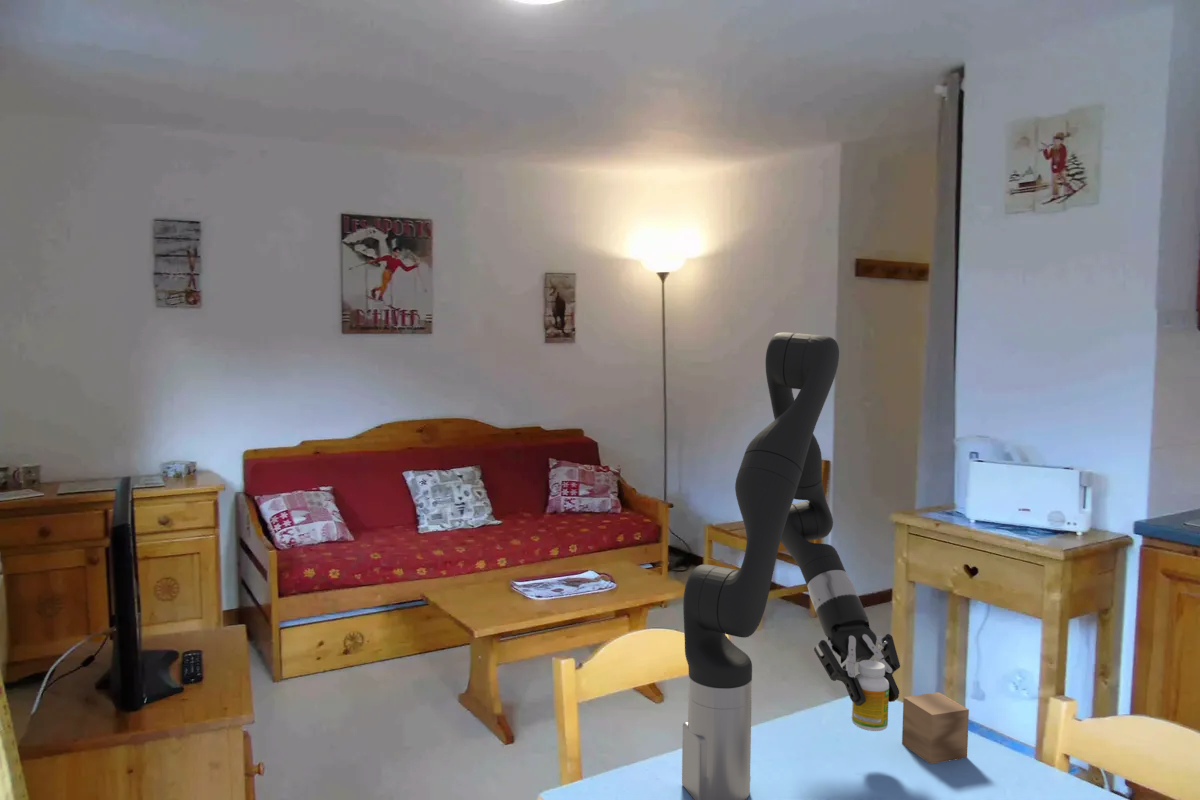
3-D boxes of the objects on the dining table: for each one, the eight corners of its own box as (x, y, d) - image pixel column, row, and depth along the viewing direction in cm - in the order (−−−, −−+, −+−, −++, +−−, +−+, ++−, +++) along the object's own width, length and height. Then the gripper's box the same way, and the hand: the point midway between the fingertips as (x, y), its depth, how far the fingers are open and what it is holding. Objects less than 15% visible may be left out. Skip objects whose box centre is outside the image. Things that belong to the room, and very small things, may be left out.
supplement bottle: (889, 733, 130) (892, 672, 129) (853, 730, 131) (855, 668, 130) (885, 719, 135) (887, 659, 135) (850, 715, 136) (852, 656, 136)
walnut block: (930, 764, 133) (932, 714, 132) (902, 744, 139) (903, 697, 139) (967, 758, 135) (968, 709, 134) (937, 738, 141) (938, 692, 141)
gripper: (808, 595, 137) (849, 696, 126) (883, 589, 141) (928, 687, 131) (790, 617, 142) (827, 716, 131) (863, 611, 147) (905, 706, 136)
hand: (877, 701), depth 131 cm, fingers closed on supplement bottle, 5 cm apart
